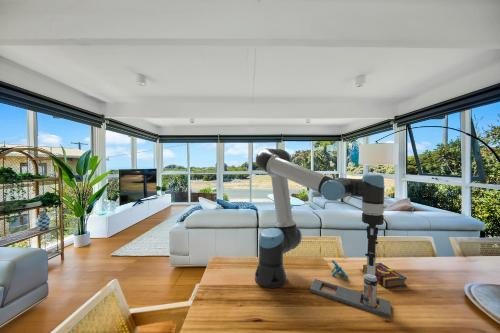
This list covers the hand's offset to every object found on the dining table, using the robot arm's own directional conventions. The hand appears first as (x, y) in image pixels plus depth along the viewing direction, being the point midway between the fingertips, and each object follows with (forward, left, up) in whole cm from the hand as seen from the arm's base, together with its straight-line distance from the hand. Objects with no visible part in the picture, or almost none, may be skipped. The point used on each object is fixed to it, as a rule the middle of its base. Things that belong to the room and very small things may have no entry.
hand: (371, 265), depth 86 cm
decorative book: (+4, +26, -17) cm, 31 cm away
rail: (-8, 0, -16) cm, 18 cm away
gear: (-14, +17, -16) cm, 28 cm away
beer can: (0, 0, -16) cm, 16 cm away
